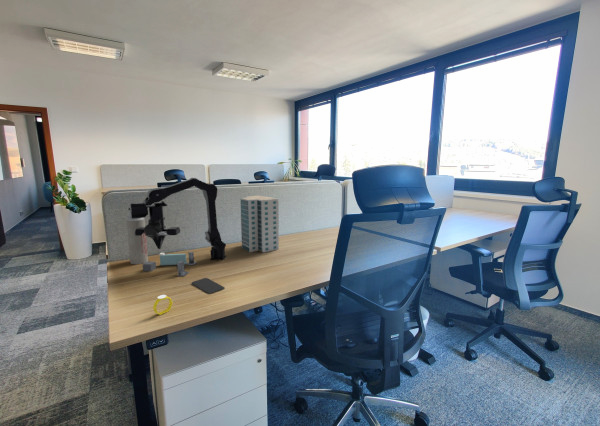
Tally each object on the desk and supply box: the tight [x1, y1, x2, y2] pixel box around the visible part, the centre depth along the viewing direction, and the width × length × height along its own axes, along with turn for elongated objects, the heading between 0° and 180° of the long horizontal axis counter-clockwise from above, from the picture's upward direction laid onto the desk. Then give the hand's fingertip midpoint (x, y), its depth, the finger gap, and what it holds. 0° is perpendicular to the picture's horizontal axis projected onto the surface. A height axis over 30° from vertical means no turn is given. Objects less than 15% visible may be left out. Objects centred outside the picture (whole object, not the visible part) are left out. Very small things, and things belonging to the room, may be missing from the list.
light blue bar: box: [159, 252, 188, 266], centre depth 141 cm, size 2×12×6 cm, turn 99°
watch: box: [152, 294, 173, 316], centre depth 96 cm, size 6×3×6 cm, turn 146°
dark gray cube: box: [142, 260, 157, 272], centre depth 135 cm, size 4×4×4 cm
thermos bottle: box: [125, 207, 149, 265], centre depth 144 cm, size 8×8×28 cm
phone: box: [191, 277, 226, 295], centre depth 118 cm, size 7×1×15 cm
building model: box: [239, 195, 280, 253], centre depth 169 cm, size 20×16×30 cm
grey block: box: [176, 261, 189, 277], centre depth 129 cm, size 3×4×6 cm
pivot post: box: [186, 251, 197, 266], centre depth 143 cm, size 4×4×6 cm
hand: (159, 248), depth 134 cm, fingers closed
